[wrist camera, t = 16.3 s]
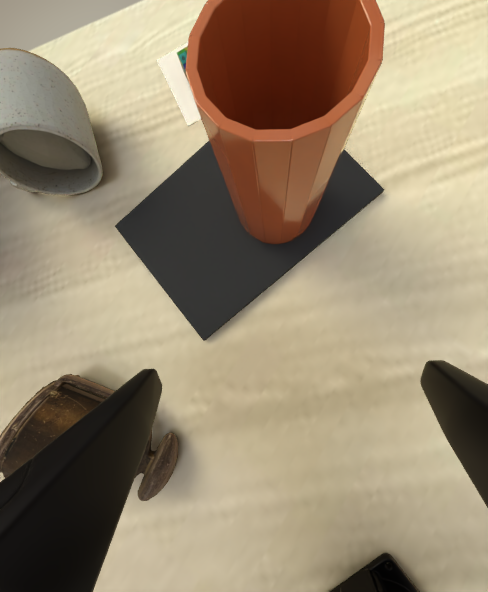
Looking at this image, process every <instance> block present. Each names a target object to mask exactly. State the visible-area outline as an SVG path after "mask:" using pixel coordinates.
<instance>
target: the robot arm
mask: <svg viewBox="0 0 488 592" xmlns="http://www.w3.org/2000/svg"><path fill="white" fill-rule="evenodd" d="M421 386H422V388H423V391H424V393H425V395H426V397H427V399H428V401H429V403H430V405H431V407H432V410H433V412H434V414H435V416H436V418H437V420H438V422H439V424H440V426H441V429H442V430H443V432H444V434H445V436H446V438H447V440H448V442H449V443H450V445H451V447H452V449H453V450H454V452H455V454H456V455H457V457H458V459H459V460H460V462H461V464H462V465H463V467H464V469H465V470H466V472H467V474H468V475H469V477H470V479H471V480H472V482H473V484H474V485H475V487H476V489H477V490H478V492H479V494H480V496H481V497H482V499H483V501H484V502H485V504H486V506H487V507H488V384H486V383H484V382H482V381H481V380H479V379H477V378H475V377H473V376H471V375H470V374H468V373H466V372H464V371H462V370H460V369H458V368H457V367H455V366H453V365H451V364H449V363H447V362H445V361H442V360H434V361H428V362H427V363H426V364H425V367H424V370H423V373H422V376H421ZM161 393H162V383H161V381H160V379H159V376H158V374H157V371H156V370H155V369H144V370H142V371H140V372H139V373H138V374H137V375H135V376H134V377H133V378H132V379H130V380H129V381H128V382H127V383H125V384H124V385H123V386H121V387H120V388H119V389H118V390H116V391H115V392H114V393H113V394H111V395H110V396H109V397H108V398H106V399H105V400H104V401H103V402H101V403H100V404H99V405H98V406H96V407H95V408H94V409H92V410H91V411H90V412H89V413H87V414H86V415H85V416H84V417H82V418H81V419H80V420H79V421H77V422H76V423H75V424H74V425H72V426H71V427H70V428H68V429H67V430H66V431H65V432H63V433H62V434H61V435H60V436H58V437H57V438H56V439H55V440H53V441H52V442H51V443H50V444H48V445H47V446H46V447H44V448H43V449H42V450H41V451H39V452H38V453H37V454H36V455H34V457H33V458H31V459H29V460H28V461H27V462H25V463H24V464H23V465H22V466H20V467H19V468H18V469H17V470H15V471H14V472H13V473H11V474H10V475H9V476H8V477H6V478H5V479H4V480H2V481H1V482H0V592H93V590H94V587H95V584H96V581H97V579H98V576H99V573H100V571H101V568H102V565H103V562H104V560H105V557H106V554H107V551H108V549H109V546H110V543H111V541H112V538H113V535H114V532H115V530H116V527H117V524H118V522H119V519H120V516H121V513H122V511H123V508H124V505H125V503H126V500H127V497H128V494H129V492H130V489H131V486H132V483H133V481H134V478H135V475H136V473H137V470H138V467H139V464H140V462H141V459H142V456H143V454H144V451H145V448H146V445H147V443H148V440H149V437H150V434H151V430H152V427H153V423H154V419H155V416H156V412H157V408H158V404H159V400H160V396H161ZM387 562H390V563H388V564H386V563H387ZM330 592H419V590H418V589H417V588H416V587H415V585H414V584H413V583H412V582H411V580H410V579H409V578H408V576H407V575H406V574H405V573H404V571H403V570H402V569H401V568H400V566H399V565H398V564H397V562H396V561H395V560H394V559H393V557H392V556H391V555H390V554H387V553H384V554H382V555H380V556H379V557H378V558H376V559H375V560H373V561H372V562H371V563H369V564H368V565H366V566H365V567H364V568H362V569H361V570H359V571H358V572H357V573H355V574H354V575H352V576H351V577H350V578H348V579H347V580H345V581H344V582H343V583H341V584H340V585H338V586H337V587H336V588H334V589H333V590H331V591H330Z"/></svg>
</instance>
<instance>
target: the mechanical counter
mask: <svg viewBox="0 0 488 592" xmlns="http://www.w3.org/2000/svg"><path fill="white" fill-rule="evenodd" d="M76 386H77V387H76ZM79 387H80V388H79ZM81 388H82V389H81ZM84 389H85V390H84ZM86 390H87V391H86ZM89 391H90V392H89ZM92 392H93V393H92ZM114 392H115V391H113V390H110V389H108V388H106V387H103V386H101V385H98V384H96V383H93V382H91V381H88V380H85V379H83V378H80V376H79V375H75V376H74V375H72V374H69V375H64V376H62V377H60V378H59V379H58V380H56V381H53V382H51V383H50V384H48V385H47V386H45V387H42V389H41V390H40V391H38V392H37V393H36V394H35V395H34V397H32V398H31V399H30V401H28V402H27V403H26V404H25V406H23V408H22V409H21V410H20V411H19V412H18V414H17V415H16V416H15V417H14V418H13V419H12V420H11V422H10V423H9V424H8V426H7V427H6V428H5V429H4V431H3V432H2V434H1V435H0V472H2V473H3V475H4V477H5V478H6V477H8V476H9V475H10V474H11V473H13V472H14V471H15V470H17V469H18V468H19V467H20V466H22V465H23V464H24V463H25V462H27V461H28V460H29V459H31V458H33V457H34V455H36V454H37V453H38V452H39V451H41V450H42V449H43V448H44V447H46V446H47V445H48V444H50V443H51V442H52V441H53V440H55V439H56V438H57V437H58V436H60V435H61V434H62V433H63V432H65V431H66V430H67V429H68V428H70V427H71V426H72V425H74V424H75V423H76V422H77V421H79V420H80V419H81V418H82V417H84V416H85V415H86V414H87V413H89V412H90V411H91V410H92V409H94V408H95V407H96V406H98V405H99V404H100V403H101V402H103V401H104V400H105V399H106V398H104V397H107V398H108V397H109V396H110V395H111V394H113V393H114ZM94 393H96V394H94ZM97 394H99V395H101V396H99V395H97ZM102 396H104V397H102ZM151 441H152V430H151V434H150V437H149V440H148V443H147V445H146V448H145V451H144V454H143V456H142V459H141V462H140V464H139V467H138V470H137V473H136V475H135V477H136V476H137V475H138V474H139V473H143V474H144V477H143V479H142V482H141V485H140V487H139V490H138V497H139V499H140V500H141V501H147V500H149V499H150V498H152V497H154V496H155V495H157V494H158V493H159V492H160V491H161V490H162V488H163V487H164V486H165V485H166V483H167V482H168V480H169V479H170V477H171V475H172V474H173V470H174V467H175V464H176V460H177V457H178V442H177V438H176V436H175V435H174V434H173V433H168V434H166V435H165V436H164V438H163V440H162V441H161V443H160V445H159V446H158V448H157V450H156V451H152V450H151Z"/></svg>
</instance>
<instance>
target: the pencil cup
mask: <svg viewBox="0 0 488 592" xmlns="http://www.w3.org/2000/svg"><path fill="white" fill-rule="evenodd" d="M384 28H385V23H384V19H383V17H382V14H381V12H380V9H379V7H378V5H377V2H376V0H208V1H207V2H206V4H205V5H204V7H203V9H202V11H201V13H200V15H199V17H198V19H197V21H196V23H195V25H194V27H193V29H192V31H191V33H190V35H189V40H188V50H187V59H186V69H185V70H186V75H187V79H188V82H189V85H190V88H191V91H192V94H193V97H194V100H195V103H196V106H197V109H198V111H199V114H200V117H201V119H202V122H203V124H204V127H205V130H206V132H207V135H208V138H209V140H210V143H211V146H212V148H213V151H214V153H215V156H216V159H217V161H218V164H219V167H220V169H221V172H222V174H223V177H224V180H225V182H226V185H227V188H228V190H229V193H230V196H231V198H232V201H233V203H234V206H235V209H236V211H237V214H238V217H239V219H240V222H241V224H242V225H243V227H244V229H245V230H246V231H247V232H248V233H249V234H250V235H251V236H252V237H254V238H255V239H257V240H259V241H261V242H264V243H268V244H281V243H286V242H289V241H291V240H294V239H295V238H297V237H299V236H300V235H301V234H302V233H303V232H304V231H305V230H306V229H307V228H308V227H309V225H310V223H311V222H312V219H313V217H314V215H315V213H316V211H317V209H318V207H319V204H320V202H321V200H322V198H323V195H324V193H325V191H326V189H327V186H328V184H329V182H330V180H331V177H332V175H333V173H334V170H335V168H336V166H337V164H338V161H339V159H340V157H341V155H342V152H343V150H344V148H345V145H346V143H347V141H348V139H349V136H350V134H351V132H352V130H353V127H354V125H355V123H356V120H357V118H358V116H359V114H360V111H361V109H362V107H363V105H364V102H365V100H366V98H367V95H368V93H369V91H370V89H371V86H372V84H373V82H374V80H375V77H376V75H377V73H378V70H379V68H380V66H381V64H382V60H383V44H384Z"/></svg>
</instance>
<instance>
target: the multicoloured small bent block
mask: <svg viewBox="0 0 488 592" xmlns="http://www.w3.org/2000/svg"><path fill="white" fill-rule="evenodd" d="M187 50H188V42H186V43H184V44H183V45H181V46H179V47H178V48H176V49H174V50H173V51H171V52H170V53H168V54H166V55H165V56H163V57H161V58H160V59H158V60H157V62H158V64H159V67H160V69H161V71H162V73H163V75H164V77H165V79H166V81H167V83H168V85H169V87H170V89H171V92H172V94H173V96H174V98H175V100H176V102H177V104H178V106H179V108H180V110H181V112H182V114H183V116H184V119H185V121H186V123H187V125H188V126H189V125H191V124H193V123H195V122H196V121H198V120H200V119H201V117H200V114H199V111H198V109H197V106H196V103H195V100H194V97H193V94H192V91H191V88H190V85H189V82H188V79H187V75H186V70H185V69H186V59H187Z"/></svg>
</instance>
